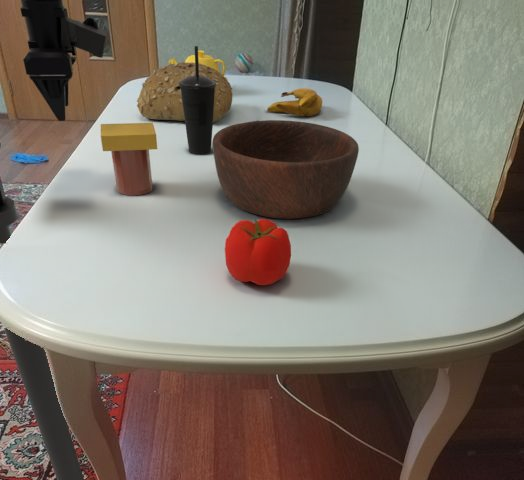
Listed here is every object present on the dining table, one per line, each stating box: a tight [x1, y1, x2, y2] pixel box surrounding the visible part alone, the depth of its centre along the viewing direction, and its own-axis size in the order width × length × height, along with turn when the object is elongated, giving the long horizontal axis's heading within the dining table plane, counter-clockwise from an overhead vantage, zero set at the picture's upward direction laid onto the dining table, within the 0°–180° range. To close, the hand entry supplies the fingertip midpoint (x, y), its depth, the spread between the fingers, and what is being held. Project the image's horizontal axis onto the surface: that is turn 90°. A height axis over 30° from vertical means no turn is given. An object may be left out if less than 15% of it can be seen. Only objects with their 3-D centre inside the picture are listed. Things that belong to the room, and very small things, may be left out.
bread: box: [136, 61, 234, 123], centre depth 131 cm, size 24×21×12 cm
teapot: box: [167, 50, 229, 82], centre depth 151 cm, size 14×14×11 cm
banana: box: [267, 87, 323, 117], centre depth 139 cm, size 15×19×6 cm
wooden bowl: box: [211, 119, 360, 220], centre depth 89 cm, size 25×25×10 cm
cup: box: [110, 150, 153, 196], centre depth 91 cm, size 6×6×8 cm
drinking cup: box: [179, 45, 216, 156], centre depth 105 cm, size 8×8×20 cm
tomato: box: [224, 218, 292, 286], centre depth 68 cm, size 9×9×8 cm
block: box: [100, 122, 158, 152], centre depth 87 cm, size 9×7×2 cm
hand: (63, 113), depth 84 cm, fingers open, 9 cm apart
